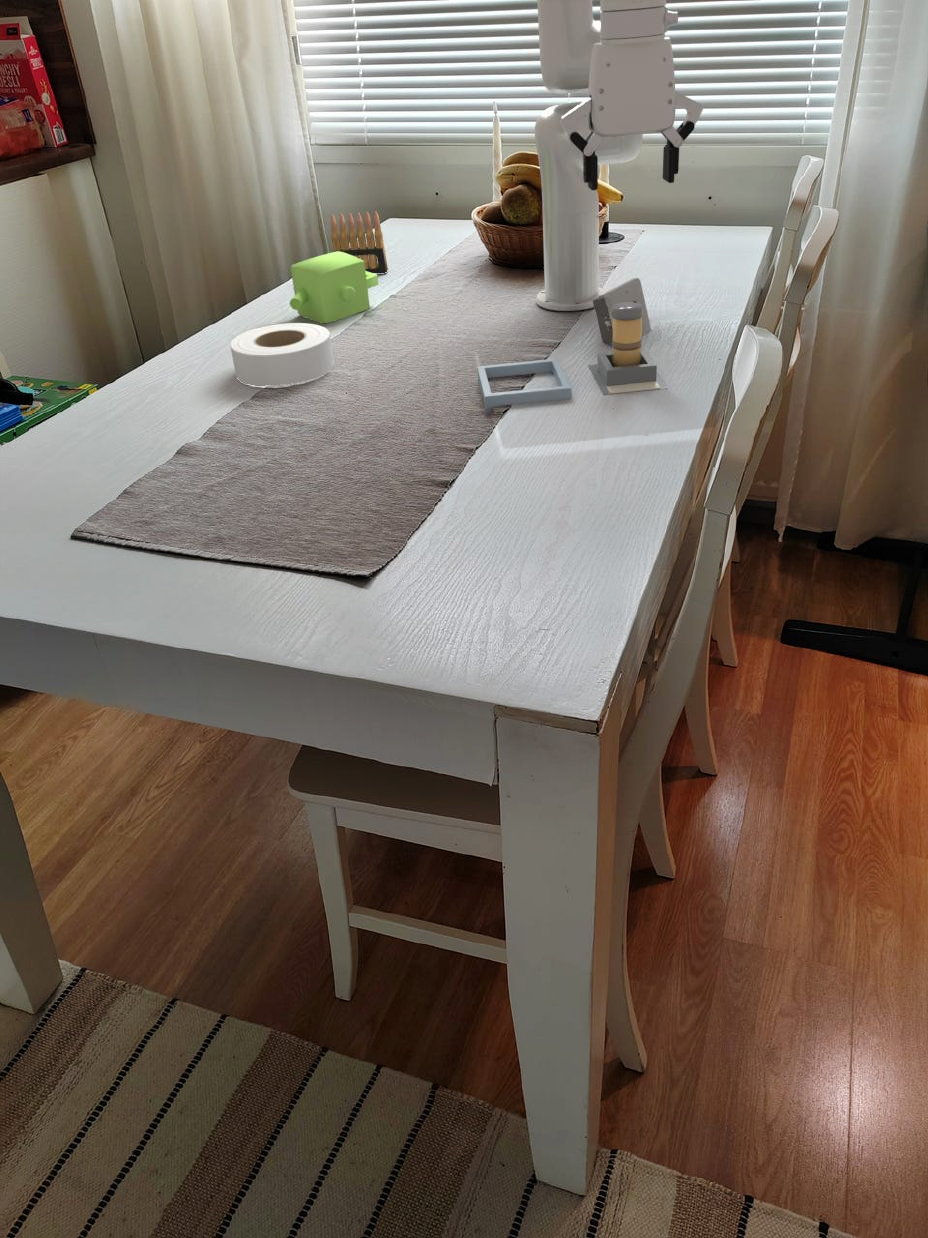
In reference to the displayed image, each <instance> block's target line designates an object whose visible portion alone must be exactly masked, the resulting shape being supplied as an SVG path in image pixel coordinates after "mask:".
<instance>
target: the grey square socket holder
mask: <svg viewBox="0 0 928 1238" xmlns="http://www.w3.org/2000/svg"><path fill="white" fill-rule="evenodd" d="M612 359H613V351H612V352H599V353H597V363H596V364H587V366H588V368H589V370H590V372H591V375H592V376H593V379H594V380H595V381H596V383H597V386H598V388H599V389H600V391H601V393H602V395H603V396H608V395H609V396H610V395H619V394H627V393H629V394H630V393H640V392H647V391H648V392H650V391H659V390H667V389H668V387H667V385H666V384H665V383H664V381H663V380H662V378H661V377H660V375H659V373H658V372H657V366H658V365H657V364H656V362H655V361H654V360H653V358H652V357H651V355H650V353H649V352H648V351H647V350H646V348H641V365H631V366H621V367H612Z"/></svg>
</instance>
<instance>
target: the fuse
mask: <svg viewBox="0 0 928 1238" xmlns="http://www.w3.org/2000/svg"><path fill="white" fill-rule="evenodd" d="M642 316H643V305H642V304H639V303H634V302H624V303H618V304H615V305H614V306H613V307H612V317H613V339H612V344H611V347H612V352H613V359H612V367H621V366H631V365H641V349H642V343H643V341H642V340H643V339H642V337H643V336H642Z"/></svg>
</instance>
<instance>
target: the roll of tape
mask: <svg viewBox="0 0 928 1238" xmlns="http://www.w3.org/2000/svg"><path fill="white" fill-rule="evenodd" d="M229 345H230V346H229V347H230V352H231V357H232V361H233V362H232V363H233V366H234V371H235V372H234V373H235V376H236V379H237V378H238V379H239V380H240V381H241V382H243V383H245V384H250V385H255V386H266V385H273V384H291V383H297V382H302V381H307V380H310V379H313V378H317V377H319V376H321V375H323V374H325V373H326V372H328V371H329V370H330V369H331V368H332V367H333V364H334V365H335V362H334V360H335V359H334V352H333V346H332V338H331V333H330V331H329V330H328V329H327V328H326V327H324V326H321V325H318V324H314V323H305V322H303V323H302V322H292V323H291V322H290V323H289V322H288V323H278V324H270V325H266V326H262V327H258V328H252V329H249V330H246V331H244V332H242V333H240V334H238V335H237V336H236V337H235V338H233V339H232V340H231V341H230V344H229Z"/></svg>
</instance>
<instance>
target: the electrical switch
mask: <svg viewBox="0 0 928 1238" xmlns="http://www.w3.org/2000/svg"><path fill="white" fill-rule="evenodd" d="M624 302H634V303H639V304H642V305H643V316H642V336H641V337H643V336H644V335H646V334H648V333H649V332H651V331H652V327H651V322H650V318H649V313H648V309H647V304H646V301H645V295H644V290H643V287H642V282H641V279H640V278H638V277H634V278H632V279H629V280H628V281H626V282H623V283H622V284H620V285H618V286H615V287H614V288H612V289H609V290H608V291H607V292H606V293H605V294H604V295H602V296H600V297H598V298H596V299H594V300H593V304H594V307H593V309H594V313H595V316H596V319H597V325H598V329H599V332H600V333H599V334H600V337H601V341H602V343H604V344H610V345H612V339H613V317H612V307H613V306H614V305H615V304H618V303H624Z"/></svg>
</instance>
